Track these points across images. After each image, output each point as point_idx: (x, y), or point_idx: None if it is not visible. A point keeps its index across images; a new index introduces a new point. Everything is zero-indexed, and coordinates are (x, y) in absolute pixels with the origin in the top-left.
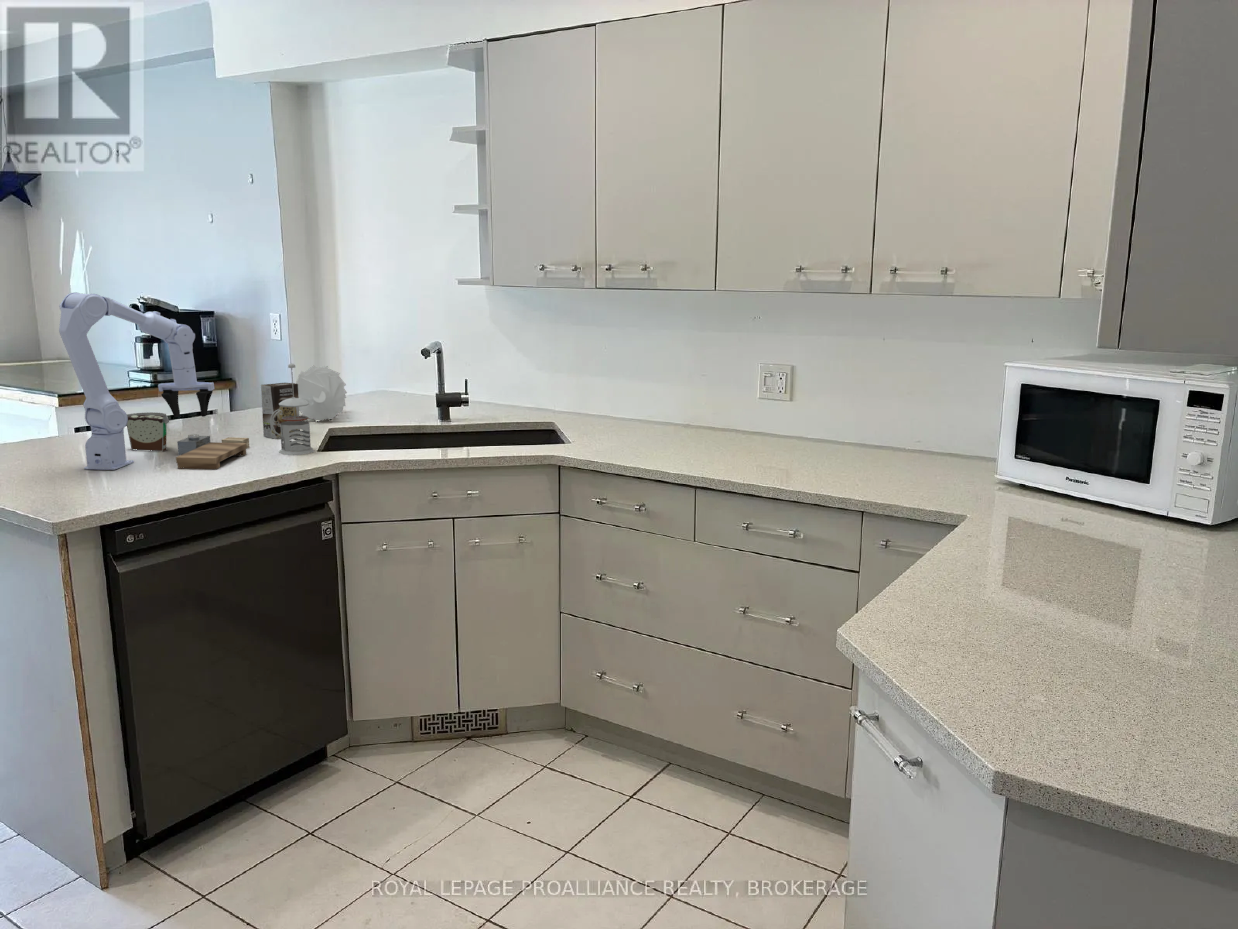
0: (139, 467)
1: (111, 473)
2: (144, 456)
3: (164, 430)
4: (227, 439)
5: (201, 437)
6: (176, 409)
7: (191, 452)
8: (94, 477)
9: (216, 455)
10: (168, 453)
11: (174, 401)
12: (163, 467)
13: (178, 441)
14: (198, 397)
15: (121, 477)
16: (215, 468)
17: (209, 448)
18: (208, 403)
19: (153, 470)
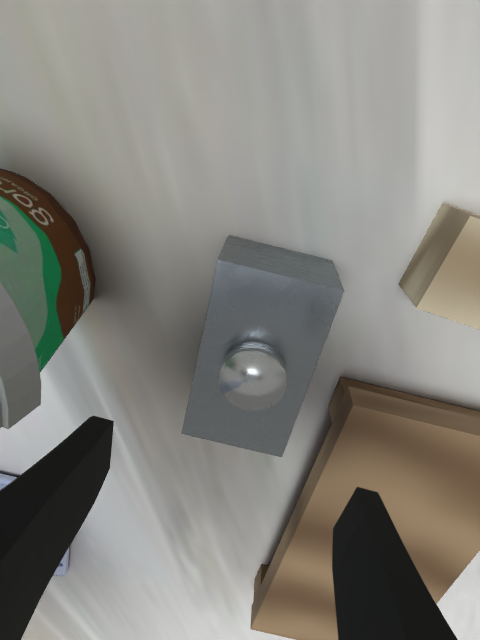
0: (124, 548)
1: (77, 592)
2: (57, 392)
3: (46, 349)
4: (455, 301)
5: (294, 340)
6: (75, 511)
7: (291, 580)
8: (55, 617)
9: None
10: (137, 347)
11: (14, 616)
12: (203, 561)
13: (186, 432)
14: None
15: (127, 629)
16: None
17: None
18: (443, 625)
19: (185, 586)
